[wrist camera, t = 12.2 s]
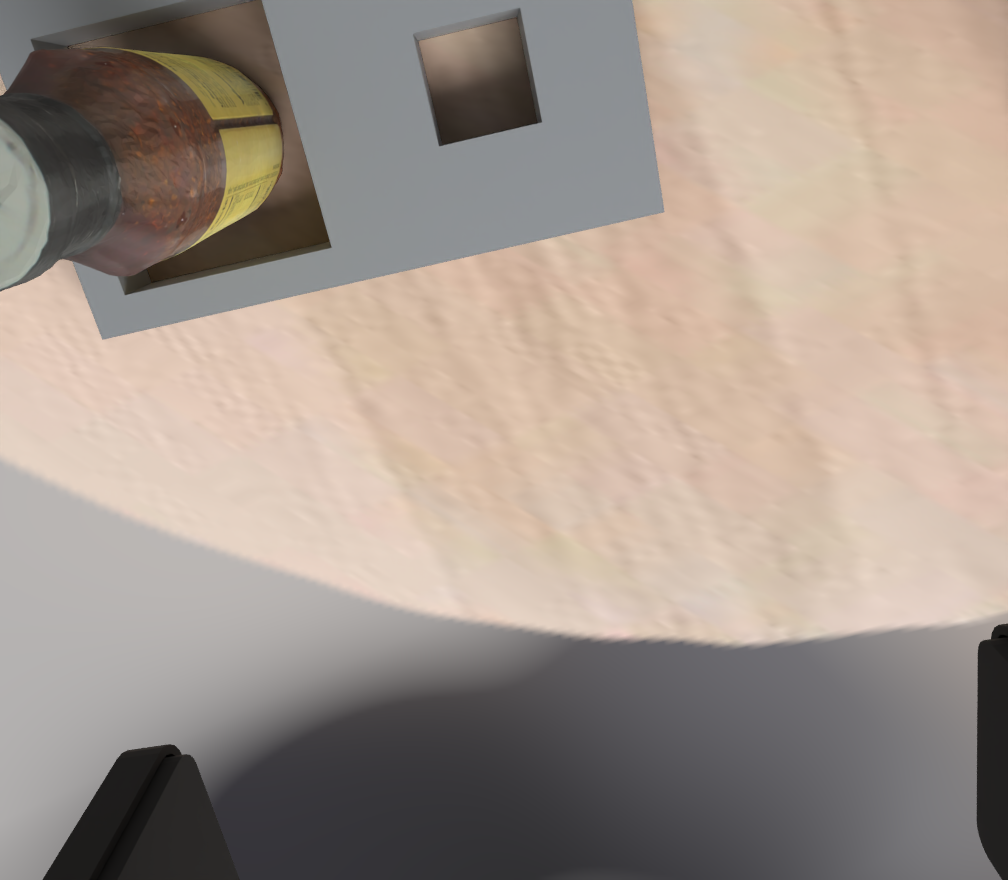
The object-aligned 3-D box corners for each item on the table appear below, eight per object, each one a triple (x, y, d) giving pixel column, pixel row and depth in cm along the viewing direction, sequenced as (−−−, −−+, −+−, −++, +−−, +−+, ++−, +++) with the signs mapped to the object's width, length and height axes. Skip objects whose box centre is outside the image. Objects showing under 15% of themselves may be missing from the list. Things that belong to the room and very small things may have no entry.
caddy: (597, -131, 33) (608, -155, 30) (650, 205, 37) (664, 211, 34) (15, 14, 34) (-27, 3, 31) (130, 323, 38) (102, 339, 35)
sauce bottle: (112, 84, 35) (-312, 41, 16) (260, 39, 35) (-1, -58, 16) (176, 245, 37) (-134, 370, 18) (316, 205, 37) (144, 290, 18)
